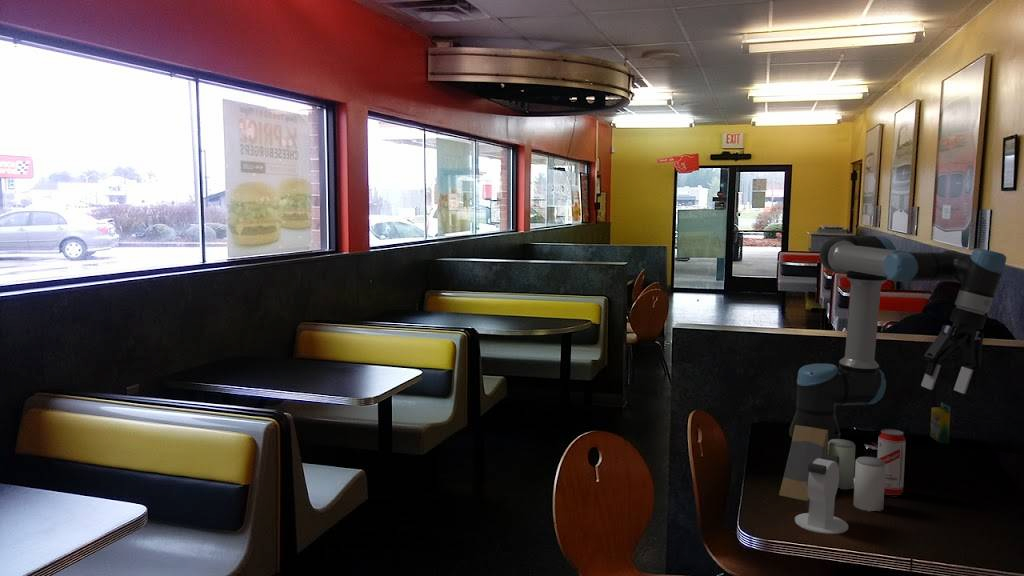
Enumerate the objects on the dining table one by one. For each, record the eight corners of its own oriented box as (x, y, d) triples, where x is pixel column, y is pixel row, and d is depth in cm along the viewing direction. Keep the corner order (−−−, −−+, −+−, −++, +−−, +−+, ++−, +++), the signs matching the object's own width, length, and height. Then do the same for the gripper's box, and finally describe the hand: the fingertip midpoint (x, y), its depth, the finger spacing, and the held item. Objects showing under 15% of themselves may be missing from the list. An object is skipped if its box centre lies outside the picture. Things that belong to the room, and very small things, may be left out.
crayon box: (929, 436, 245) (931, 401, 244) (939, 437, 245) (941, 401, 243) (938, 443, 238) (941, 407, 237) (949, 443, 237) (951, 407, 236)
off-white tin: (848, 501, 188) (850, 456, 187) (874, 501, 188) (877, 456, 187) (861, 511, 181) (864, 465, 180) (888, 511, 182) (891, 464, 180)
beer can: (880, 486, 198) (884, 427, 197) (906, 493, 194) (909, 431, 192) (871, 492, 194) (874, 431, 193) (897, 499, 190) (901, 436, 188)
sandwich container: (777, 495, 192) (779, 438, 191) (792, 478, 205) (794, 424, 203) (813, 503, 187) (815, 443, 186) (826, 485, 200) (828, 429, 199)
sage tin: (821, 480, 203) (823, 438, 202) (846, 480, 203) (848, 438, 202) (833, 489, 196) (835, 446, 195) (858, 489, 196) (860, 446, 195)
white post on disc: (805, 509, 182) (808, 448, 181) (855, 521, 175) (858, 458, 174) (787, 524, 173) (790, 460, 172) (839, 538, 166) (842, 471, 165)
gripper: (954, 308, 181) (926, 391, 184) (1013, 320, 192) (986, 398, 196) (926, 300, 187) (899, 380, 191) (985, 312, 199) (958, 388, 202)
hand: (943, 390), depth 193 cm, fingers open, 13 cm apart
